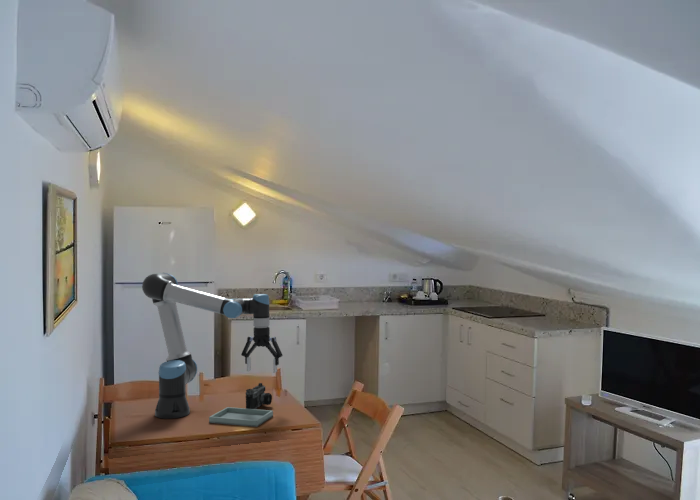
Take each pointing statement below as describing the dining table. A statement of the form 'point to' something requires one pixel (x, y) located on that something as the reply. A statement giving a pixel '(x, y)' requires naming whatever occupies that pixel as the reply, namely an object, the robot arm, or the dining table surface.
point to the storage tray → (241, 416)
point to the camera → (257, 397)
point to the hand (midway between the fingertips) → (262, 371)
